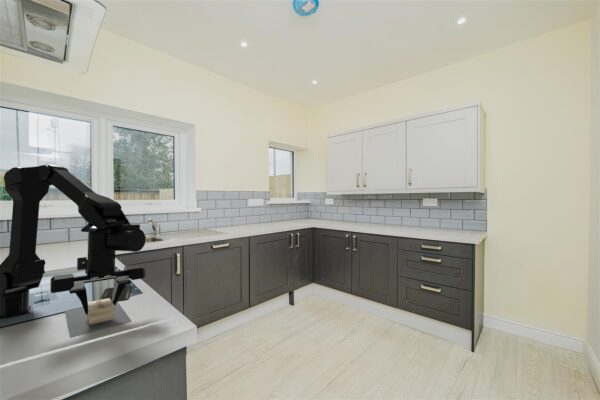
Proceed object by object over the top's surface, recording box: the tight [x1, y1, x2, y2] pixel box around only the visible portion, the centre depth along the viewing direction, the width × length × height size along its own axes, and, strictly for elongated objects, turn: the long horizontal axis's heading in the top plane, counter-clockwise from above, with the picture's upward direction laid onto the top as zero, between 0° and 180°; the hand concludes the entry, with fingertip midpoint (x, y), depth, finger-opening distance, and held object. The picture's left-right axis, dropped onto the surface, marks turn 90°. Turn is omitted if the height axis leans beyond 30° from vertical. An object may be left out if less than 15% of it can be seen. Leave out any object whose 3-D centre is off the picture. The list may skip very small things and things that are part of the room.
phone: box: [99, 285, 133, 302], centre depth 86 cm, size 8×1×15 cm
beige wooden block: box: [85, 298, 115, 325], centre depth 67 cm, size 8×5×3 cm, turn 45°
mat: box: [64, 301, 133, 338], centre depth 70 cm, size 20×12×1 cm, turn 45°
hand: (100, 310), depth 67 cm, fingers closed on beige wooden block, 5 cm apart
